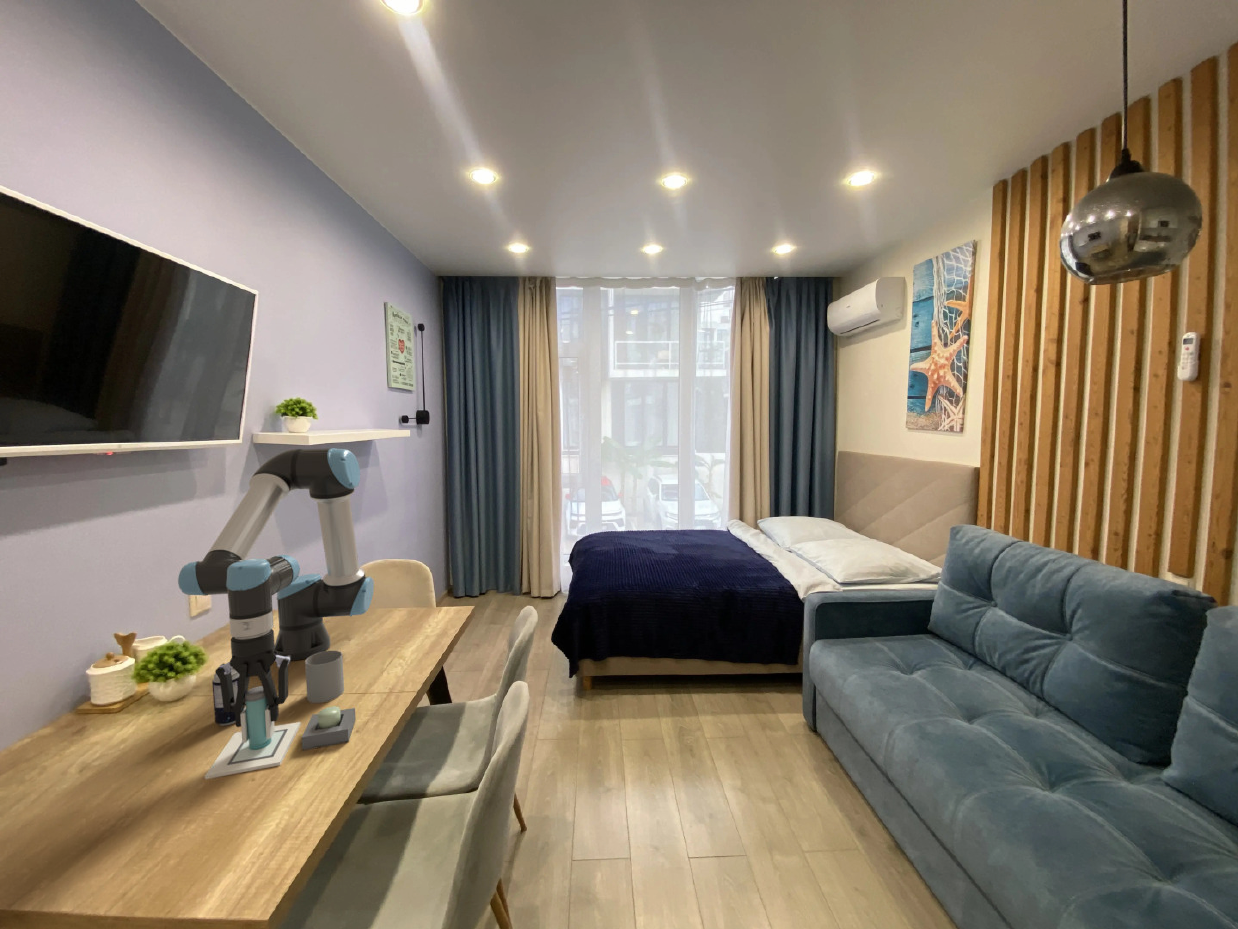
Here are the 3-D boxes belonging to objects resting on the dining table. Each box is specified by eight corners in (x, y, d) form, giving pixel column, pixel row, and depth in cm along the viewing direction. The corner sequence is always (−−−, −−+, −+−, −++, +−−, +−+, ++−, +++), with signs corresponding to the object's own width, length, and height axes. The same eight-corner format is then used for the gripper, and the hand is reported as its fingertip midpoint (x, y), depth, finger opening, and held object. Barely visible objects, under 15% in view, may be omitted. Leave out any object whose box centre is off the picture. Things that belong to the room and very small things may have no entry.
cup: (327, 704, 127) (325, 666, 127) (299, 701, 129) (297, 663, 128) (351, 687, 136) (349, 651, 135) (324, 684, 137) (323, 649, 137)
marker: (252, 740, 112) (248, 687, 111) (274, 736, 113) (270, 684, 112) (245, 752, 108) (241, 697, 107) (268, 747, 109) (264, 694, 108)
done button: (321, 721, 116) (320, 708, 116) (342, 718, 118) (341, 705, 117) (316, 732, 112) (315, 718, 112) (338, 728, 114) (337, 715, 113)
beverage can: (250, 716, 122) (247, 668, 122) (226, 729, 117) (222, 680, 116) (234, 712, 124) (231, 665, 123) (209, 725, 119) (206, 676, 118)
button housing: (312, 727, 118) (312, 714, 118) (355, 719, 121) (355, 707, 121) (302, 750, 109) (301, 737, 109) (348, 742, 112) (347, 729, 112)
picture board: (235, 735, 115) (234, 732, 115) (300, 724, 119) (300, 721, 119) (204, 779, 101) (204, 775, 101) (280, 765, 105) (280, 761, 105)
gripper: (196, 645, 102) (204, 755, 104) (292, 634, 107) (298, 739, 109) (213, 631, 109) (220, 734, 111) (302, 621, 114) (307, 720, 116)
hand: (258, 737), depth 110 cm, fingers closed on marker, 4 cm apart
